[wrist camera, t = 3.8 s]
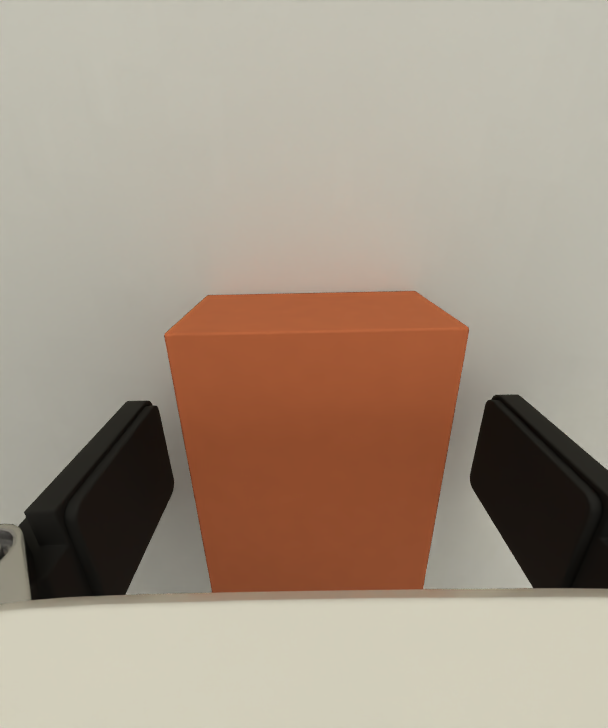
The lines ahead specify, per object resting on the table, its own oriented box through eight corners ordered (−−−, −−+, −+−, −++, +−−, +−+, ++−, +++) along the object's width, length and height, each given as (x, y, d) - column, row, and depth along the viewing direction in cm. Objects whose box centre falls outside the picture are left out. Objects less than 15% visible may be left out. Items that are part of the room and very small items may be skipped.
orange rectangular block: (233, 505, 13) (212, 600, 10) (206, 294, 10) (162, 333, 7) (392, 502, 13) (422, 595, 10) (415, 290, 10) (471, 327, 7)
